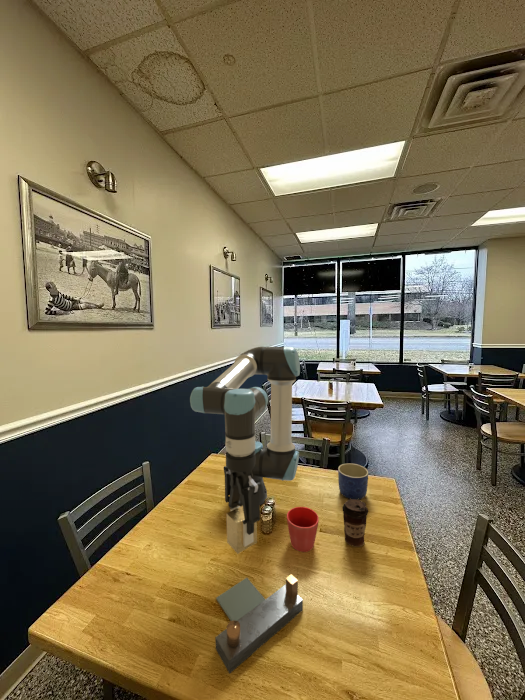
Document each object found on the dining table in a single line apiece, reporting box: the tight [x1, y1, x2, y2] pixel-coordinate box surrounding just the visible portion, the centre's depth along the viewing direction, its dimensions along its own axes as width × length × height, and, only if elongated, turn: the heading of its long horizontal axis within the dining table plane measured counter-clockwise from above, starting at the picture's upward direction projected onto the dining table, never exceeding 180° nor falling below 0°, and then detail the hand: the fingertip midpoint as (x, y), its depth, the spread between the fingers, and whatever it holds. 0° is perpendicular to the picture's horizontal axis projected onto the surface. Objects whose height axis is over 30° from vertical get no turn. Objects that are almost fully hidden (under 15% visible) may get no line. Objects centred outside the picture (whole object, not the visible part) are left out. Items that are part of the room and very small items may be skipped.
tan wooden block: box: [225, 506, 258, 555], centre depth 75 cm, size 6×5×8 cm
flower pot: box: [286, 506, 320, 553], centre depth 97 cm, size 11×11×10 cm
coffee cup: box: [342, 499, 369, 548], centre depth 98 cm, size 9×8×13 cm
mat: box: [215, 577, 266, 622], centre depth 77 cm, size 10×10×1 cm
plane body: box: [214, 574, 304, 675], centre depth 70 cm, size 22×6×7 cm, turn 128°
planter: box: [337, 463, 369, 500], centre depth 125 cm, size 12×12×11 cm
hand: (241, 536), depth 75 cm, fingers closed on tan wooden block, 5 cm apart
